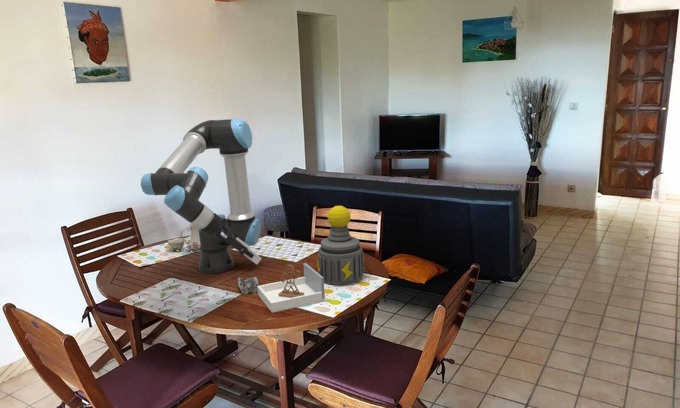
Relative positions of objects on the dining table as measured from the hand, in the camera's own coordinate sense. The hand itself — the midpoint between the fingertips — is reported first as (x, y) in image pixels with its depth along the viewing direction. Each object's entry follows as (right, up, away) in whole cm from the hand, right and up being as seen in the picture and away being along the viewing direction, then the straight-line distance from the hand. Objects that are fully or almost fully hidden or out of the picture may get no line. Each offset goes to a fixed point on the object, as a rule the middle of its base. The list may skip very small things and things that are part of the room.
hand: (253, 255), depth 178 cm
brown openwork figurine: (+13, -16, +7) cm, 22 cm away
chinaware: (-41, -4, +72) cm, 83 cm away
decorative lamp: (+31, -12, +26) cm, 42 cm away
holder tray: (+12, -16, +8) cm, 22 cm away
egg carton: (-5, -15, +18) cm, 24 cm away
